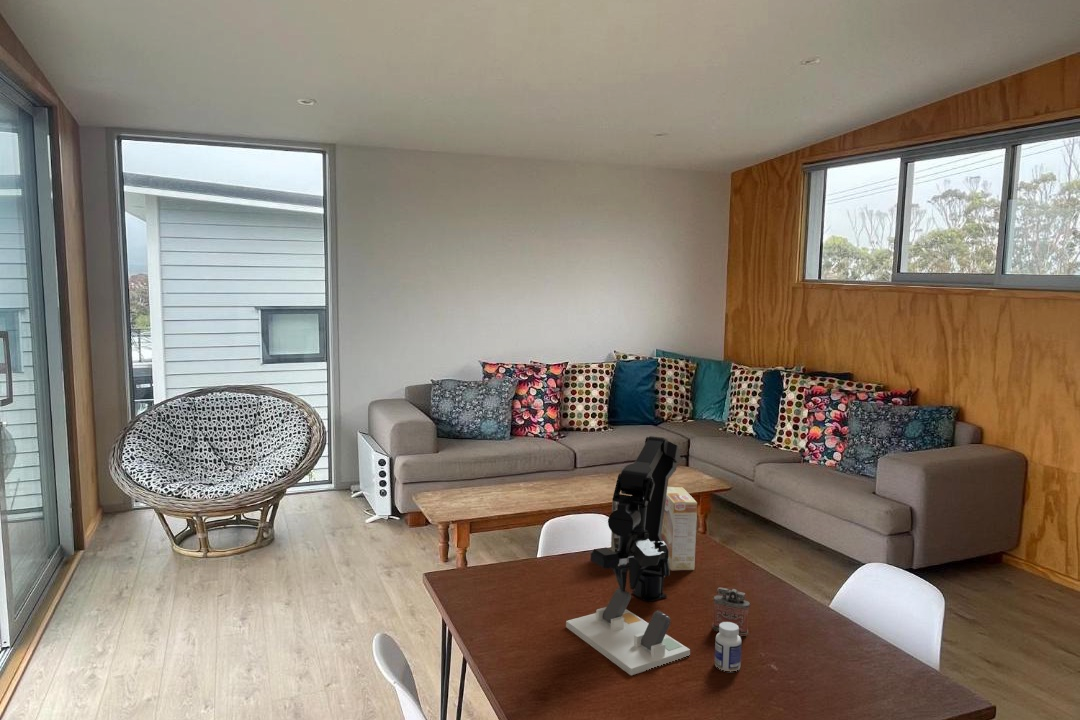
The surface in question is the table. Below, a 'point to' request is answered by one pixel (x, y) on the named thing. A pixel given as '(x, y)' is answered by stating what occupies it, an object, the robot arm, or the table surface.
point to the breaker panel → (630, 639)
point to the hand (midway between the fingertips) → (627, 590)
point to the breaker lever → (617, 605)
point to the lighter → (731, 609)
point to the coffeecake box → (680, 528)
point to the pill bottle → (728, 647)
